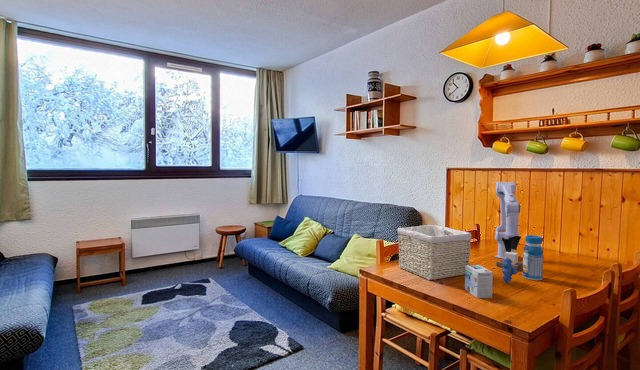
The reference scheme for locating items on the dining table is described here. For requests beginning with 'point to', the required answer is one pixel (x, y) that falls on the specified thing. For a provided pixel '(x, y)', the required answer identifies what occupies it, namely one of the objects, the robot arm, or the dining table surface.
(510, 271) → the grapes
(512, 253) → the off-white block
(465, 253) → the basket
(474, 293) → the light bulb box
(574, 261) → the dining table surface
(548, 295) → the dining table surface
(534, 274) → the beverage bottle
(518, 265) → the walnut block
